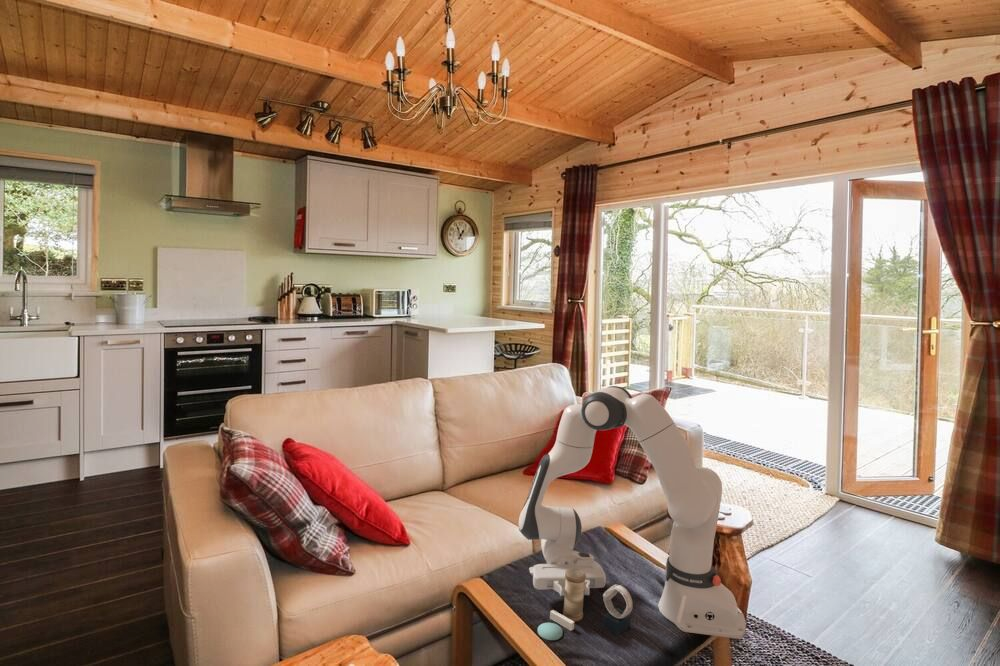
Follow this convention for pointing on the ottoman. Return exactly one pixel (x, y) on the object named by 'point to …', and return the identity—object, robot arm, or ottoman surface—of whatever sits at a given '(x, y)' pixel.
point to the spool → (574, 594)
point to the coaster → (550, 631)
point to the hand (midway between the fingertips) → (575, 593)
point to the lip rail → (562, 620)
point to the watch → (617, 610)
